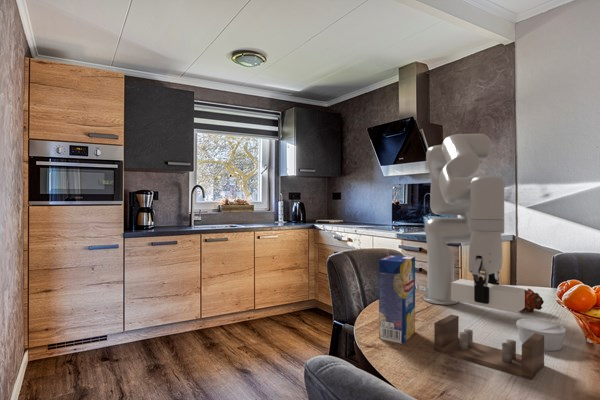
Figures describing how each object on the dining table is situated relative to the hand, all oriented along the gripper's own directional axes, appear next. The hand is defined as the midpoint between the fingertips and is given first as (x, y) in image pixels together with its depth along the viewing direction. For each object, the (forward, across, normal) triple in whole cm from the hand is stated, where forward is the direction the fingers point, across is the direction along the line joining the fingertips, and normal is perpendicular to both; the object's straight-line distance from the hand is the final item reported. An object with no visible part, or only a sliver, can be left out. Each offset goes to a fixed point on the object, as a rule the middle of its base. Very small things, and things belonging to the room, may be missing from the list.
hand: (486, 299), depth 92 cm
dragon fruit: (+14, -49, -5) cm, 51 cm away
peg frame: (+14, 0, 0) cm, 14 cm away
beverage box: (+14, +2, -23) cm, 28 cm away
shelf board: (+1, 0, 0) cm, 1 cm away
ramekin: (+15, -19, +7) cm, 25 cm away
